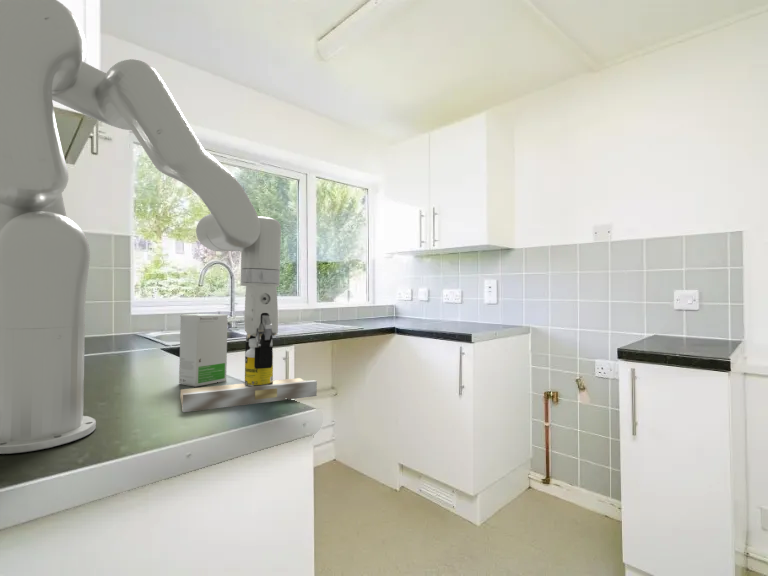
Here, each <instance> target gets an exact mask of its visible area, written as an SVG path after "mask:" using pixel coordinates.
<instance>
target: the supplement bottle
mask: <svg viewBox="0 0 768 576" xmlns="http://www.w3.org/2000/svg"><path fill="white" fill-rule="evenodd" d="M260 340H261V338H260ZM248 342H249V347H250V349H249V350H247V351H246V353H245V352H244V383H245V387H252V386H262V385H272V384H273V381H274V380H273V379H274V377H273V375H274V351H272V367H271V368H262V369H256V368H255V367H254V361H255V347H257V344H256V338H252V339H249V341H248Z"/></svg>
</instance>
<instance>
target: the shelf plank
mask: <svg viewBox="0 0 768 576" xmlns="http://www.w3.org/2000/svg"><path fill="white" fill-rule="evenodd" d="M317 382H318V381H317V380H316V379H315V380H313V379H312V380H304V379H302V378H301V377H296V378H287V379H277V380H276V379H275V380H273V384H272V385H262V386H252V387H245V382H244V383H234V384H233V383H232V384H224V385H214V386H204V387H195V388H194V387H192V388H184V389H183V388H182V389H180V391H179V392H180V403H181V410H182V413H188V412H196V411H205V410H213V409H222V408H229V407H230V408H231V407H237V406H246V405H253V404H261V403H263V404H264V403H271V402H279V401H287V399H288V400H296V399H304V398H312V397H317V396H318V395H317V391H318V390H317V387H318V386H317V385H318V383H317ZM285 398H287V399H285Z"/></svg>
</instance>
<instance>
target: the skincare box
mask: <svg viewBox="0 0 768 576" xmlns="http://www.w3.org/2000/svg"><path fill="white" fill-rule="evenodd" d="M179 317H180V330H179V331H180V334H179V336H180V337H179V371H178V383H179V385H183V386H189V387H193V388H194V387H195V388H198V387H200V386H205V385H212V384H216V383H217V382H218V383H223V382H226V381H227V366H228V365H227V364H228V363H227V361H228V359H227V357H228V354H227V353H228V352H227V351H228V317H229V316H228V314H220V313H218V314H214V313H200V314H199V313H196V314H195V313H194V314H193V313H191V314H190V313H187V314H186V313H185V314H180V316H179ZM218 383H217V384H218Z"/></svg>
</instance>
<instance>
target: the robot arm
mask: <svg viewBox="0 0 768 576" xmlns="http://www.w3.org/2000/svg"><path fill="white" fill-rule="evenodd" d="M86 53H87V43H86V38H85V34H84V31H83V29H82V26H81V24H80V23H79V21H78V20H77V18H76V16H75V15H74V14H73V13H72V11H71V10H70V9H69V8H68V7H66V5H64V4H63V3H61V2H60V1H59V0H0V455H5V454H6V455H8V454H9V455H10V454H20V453H27V452H28V453H29V452H34V451H40V450H44V449H50V448H54V447H57V446H61V445H66V444H69V443H72V442H74V441H78V440H80V439H82V438H84V437H87V436H89V435H90V434H91V433H93V432H94V431H95V429H96V428H97V421H96V418H93V417H91V416H88V415H84V390H85V388H84V387H85V386H84V385H85V380H84V378H85V342H86V341H85V336H86V330H85V329H86V324H85V323H86V296H87V287H88V286H87V285H88V276H89V271H90V270H89V268H90V260H91V257H90V256H91V251H90V245H89V240H88V238H87V237H86V234H85V232H84V231H83V229H81V227H80V226H79V225H78V224H77V223H76V222H74V221H73V220H72V219H70V218H69V217H67V212H66V208H65V203H64V198H63V192H64V191H65V190H66V188H67V186H68V185H67V184H68V182H69V169H68V166H67V163H66V159H65V156H64V155H65V154H64V152H63V148H62V143H61V140H60V135H59V130H58V127H57V121H56V116H55V109H54V104H53V102H56V103H58V104H61V105H63V106H65V107H66V108H70V109H71V110H74V111H77V112H78V113H81V114H82V115H85V116H87V117H90V118H92V119H94V120H97V121H98V122H100V123H104V124H106V125H108V126H111V127H114V128H118V129H121V130H125V131H126V130H127V131H132V133H133V135H134V136H135V138H136V140H137V141H138V143H139V144H140V146H141V147H142V148H143V150H144V152H145V154H146V155H147V156H148V158H149V159H150V161H151V162H152V164H153V165H154V167H155V168H156V170H157V171H159V172H160V173H162V174H163V175H165V176H167V177H169V178H172V179H174V180H176V181H178V182H180V183H182V184H184V185H185V186H186V187H188V188H189V189H191V190H192V191H193V192H194V193H195V194H196V196H198V197H199V198H200V200H201V201H202V202H203V204H204V205H205V206H206V207H207V209H208V211H209V212H210V213H209V214H206V215H205V216H203V217H202V218H201V219H200V220H199V221H198V223H197V224H196V229H195V233H196V238H197V240H198V241H199V242H200V244H201V245H202V246H203V247H205V248H206V249H208V250H210V251H214V252H240V253H241V254H240V255H241V256H240V257H241V258H240V286H241V287H243V286H244V287H245V295H244V296H245V298H244V300H245V301H244V317H243V318H244V323H243V324H244V332H246V336H245V349H244V354H245V353H246V351H247V350H249V349H250V347H249V339H252V338H256V344H257V347H255V361H254V367H255V368H256V369H262V368H271V367H272V351H273V349H274V347H273V338H274V337H275V336H277V335H278V333H279V316H278V315H279V314H278V313H279V312H278V311H279V310H278V309H279V306H278V292H277V290H278V289H277V287H280V281H281V280H280V276H281V275H280V274H281V273H280V272H281V271H280V270H281V238H282V234H281V233H282V226H281V223H280V222H279V221H278V220H277V219H275V218H272V217H268V216H267V217H266V216H258V214H257V211H256V209H255V207H254V206H253V204H252V201H251V200H250V198H249V196H248V195H247V193H246V192H245V190H244V188H243V186H242V185H241V183H240V182H239V181H238V179H236V177H235V176H234V175H233V174H232V173H231V172H230V171H229V170H228V169H227V168H226V167H225V166H223V164H222V163H221V162H219V161H218V160H217V159H216V158H215V157H214V156H213V155H211V154H210V153H209V152H208V151H206V149H205V148H204V147H203V145H202V144H201V142H200V140H199V139H198V138H197V136H196V135H195V132H194V131H193V129H192V127H191V126H190V124H189V122H188V121H187V119H186V117H185V116H184V114H183V112H182V111H181V109H180V107H179V105H178V104H177V102H176V100H175V99H174V97H173V95H172V93H171V92H170V90H169V88H168V86H167V85H166V83H165V82H164V80H163V78H162V77H161V76H160V74H159V73H158V72H157V70H156V69H155V68H154V67H152V66H151V65H150V64H148V63H146V62H144V61H142V60H139V59H132V58H131V59H125V60H121V61H118V62H117V63H115V64H114V65H112V66H111V67H110V68H109V69H108V70H107V71H106V72H104V71H102V70H100V69H99V68H97V67H94V66H92V65H90V64H88V63H86V62H85V58H86ZM260 338H261V340H260ZM273 352H274V351H273Z"/></svg>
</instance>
